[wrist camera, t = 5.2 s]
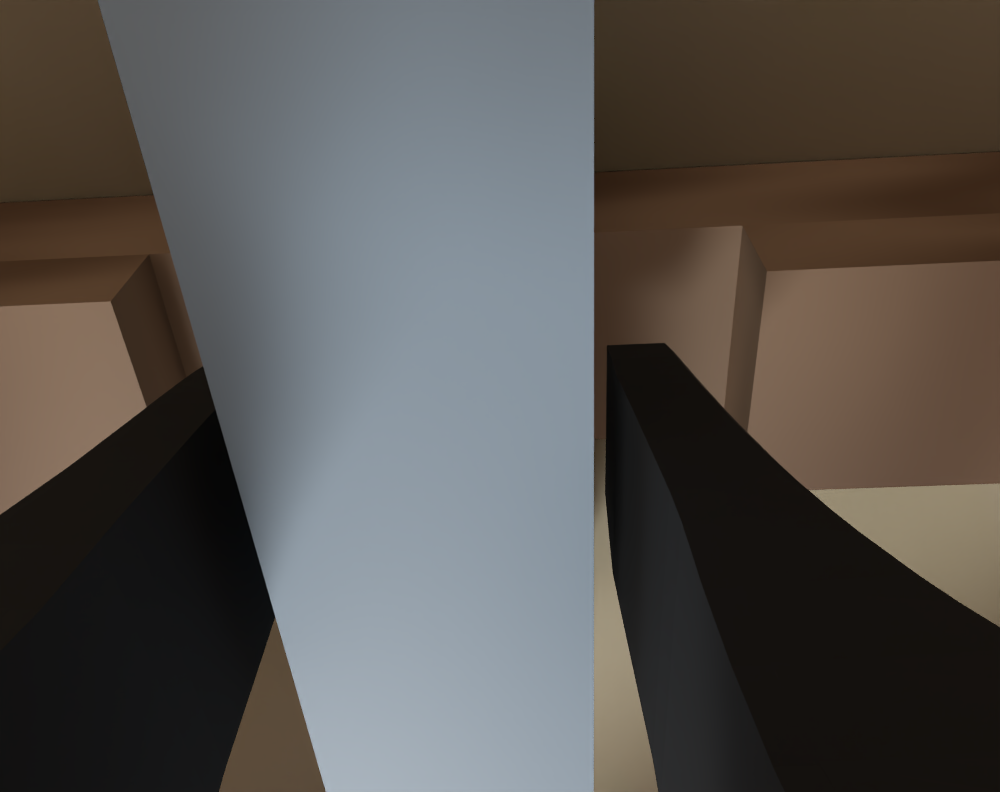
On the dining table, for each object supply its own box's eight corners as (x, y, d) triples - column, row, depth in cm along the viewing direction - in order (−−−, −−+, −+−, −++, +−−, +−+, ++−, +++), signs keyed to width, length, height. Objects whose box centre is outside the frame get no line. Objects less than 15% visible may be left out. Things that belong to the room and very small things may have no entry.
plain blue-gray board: (553, -205, 10) (593, -215, 5) (570, 577, 16) (593, 916, 11) (284, -185, 10) (47, -177, 5) (409, 582, 16) (362, 919, 11)
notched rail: (1211, 141, 12) (1417, 242, 9) (1132, 339, 13) (1287, 473, 11) (-254, 216, 12) (-463, 327, 10) (-154, 392, 14) (-309, 528, 11)
